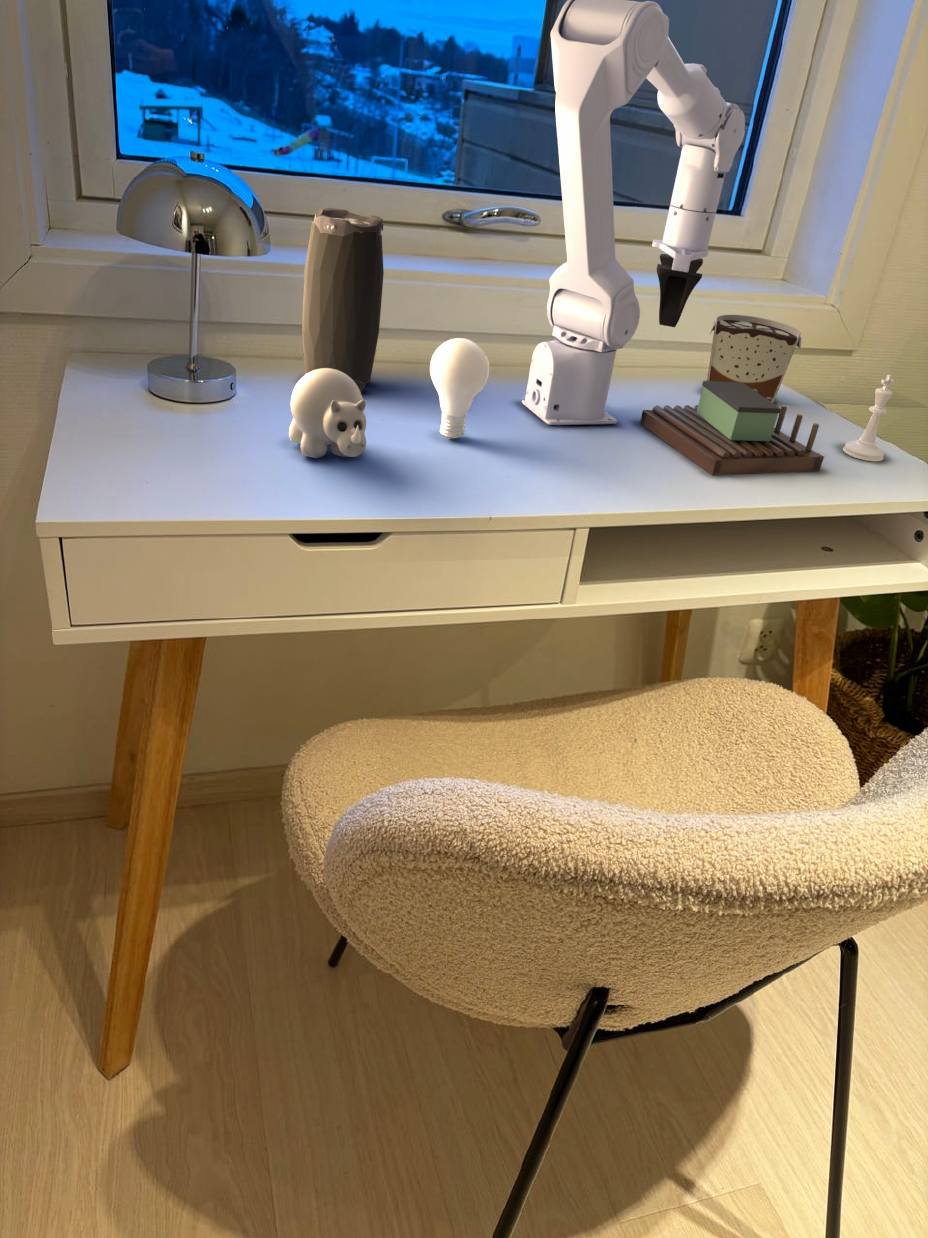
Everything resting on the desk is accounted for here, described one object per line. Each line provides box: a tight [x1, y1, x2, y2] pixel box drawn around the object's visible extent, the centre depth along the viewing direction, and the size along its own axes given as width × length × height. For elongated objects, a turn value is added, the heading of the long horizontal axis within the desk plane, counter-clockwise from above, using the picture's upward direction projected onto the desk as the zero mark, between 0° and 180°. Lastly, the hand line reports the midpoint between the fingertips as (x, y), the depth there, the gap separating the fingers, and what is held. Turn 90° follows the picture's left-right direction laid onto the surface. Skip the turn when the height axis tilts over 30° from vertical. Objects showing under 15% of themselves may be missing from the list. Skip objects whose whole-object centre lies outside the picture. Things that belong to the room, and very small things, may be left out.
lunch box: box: [697, 380, 781, 441], centre depth 119 cm, size 5×9×4 cm, turn 14°
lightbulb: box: [429, 337, 490, 440], centre depth 109 cm, size 6×6×11 cm
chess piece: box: [842, 374, 895, 462], centre depth 123 cm, size 5×5×10 cm
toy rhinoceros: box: [288, 368, 367, 459], centre depth 100 cm, size 7×12×8 cm, turn 25°
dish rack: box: [639, 389, 825, 476], centre depth 120 cm, size 15×16×5 cm
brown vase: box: [301, 207, 385, 393], centre depth 118 cm, size 9×9×20 cm
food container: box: [706, 314, 802, 404], centre depth 140 cm, size 12×6×10 cm, turn 84°
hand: (668, 318), depth 132 cm, fingers open, 7 cm apart
